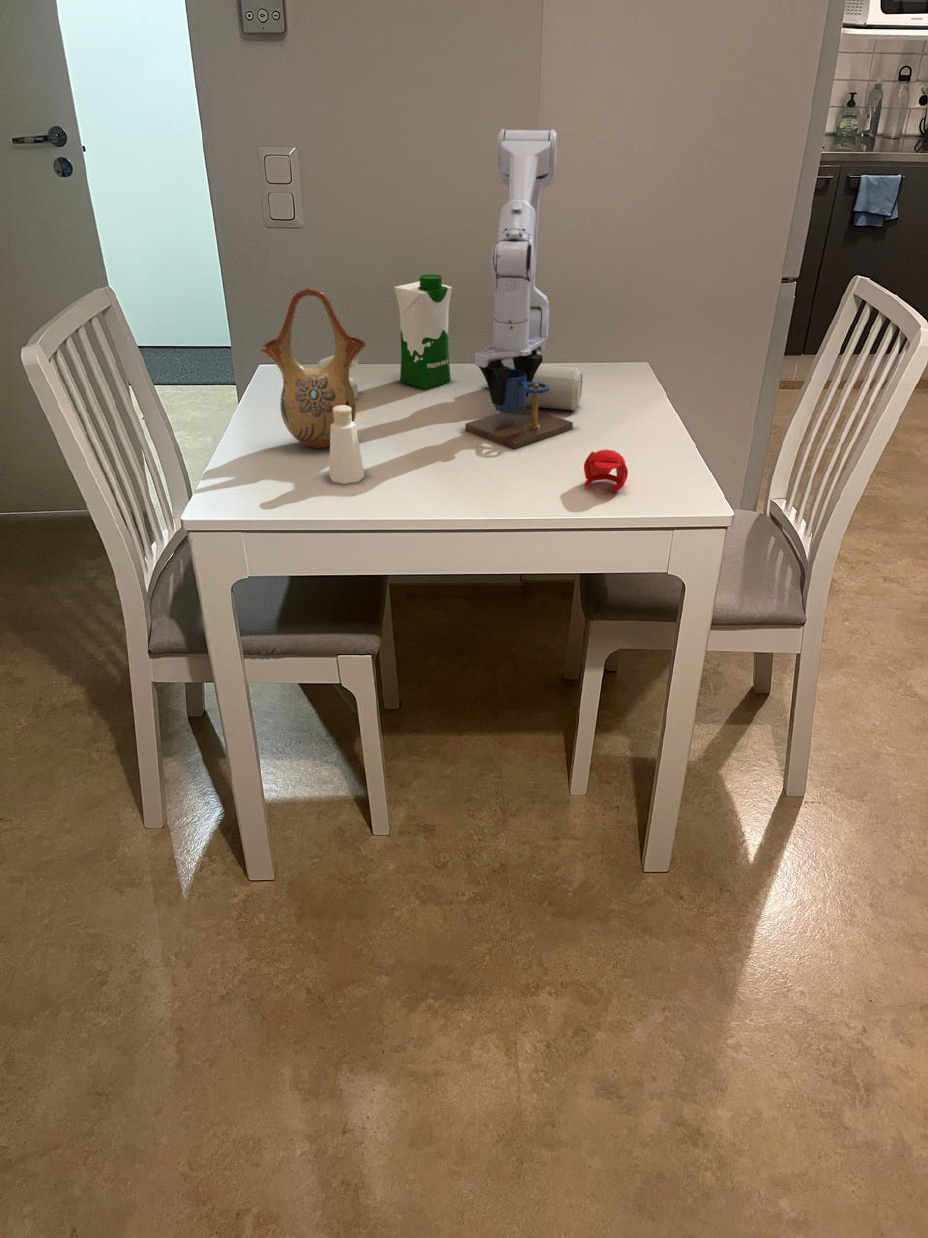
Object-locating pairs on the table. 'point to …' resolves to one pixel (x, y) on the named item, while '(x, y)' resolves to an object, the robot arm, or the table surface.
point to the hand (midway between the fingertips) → (509, 400)
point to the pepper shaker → (344, 448)
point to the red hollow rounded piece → (605, 468)
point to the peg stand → (519, 426)
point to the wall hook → (351, 380)
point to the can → (558, 387)
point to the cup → (518, 391)
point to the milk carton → (424, 332)
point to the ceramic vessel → (313, 379)
